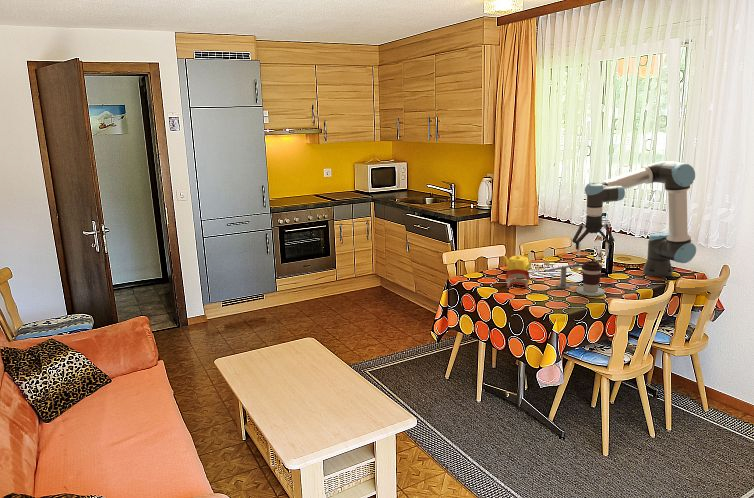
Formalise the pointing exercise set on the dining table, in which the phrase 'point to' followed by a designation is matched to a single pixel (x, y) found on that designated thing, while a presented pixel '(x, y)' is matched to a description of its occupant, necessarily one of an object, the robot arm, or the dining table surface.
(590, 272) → the coffee cup
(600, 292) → the pale grey round disc
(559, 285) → the balance
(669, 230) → the robot arm
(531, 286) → the dining table surface
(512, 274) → the toy
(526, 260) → the teapot
